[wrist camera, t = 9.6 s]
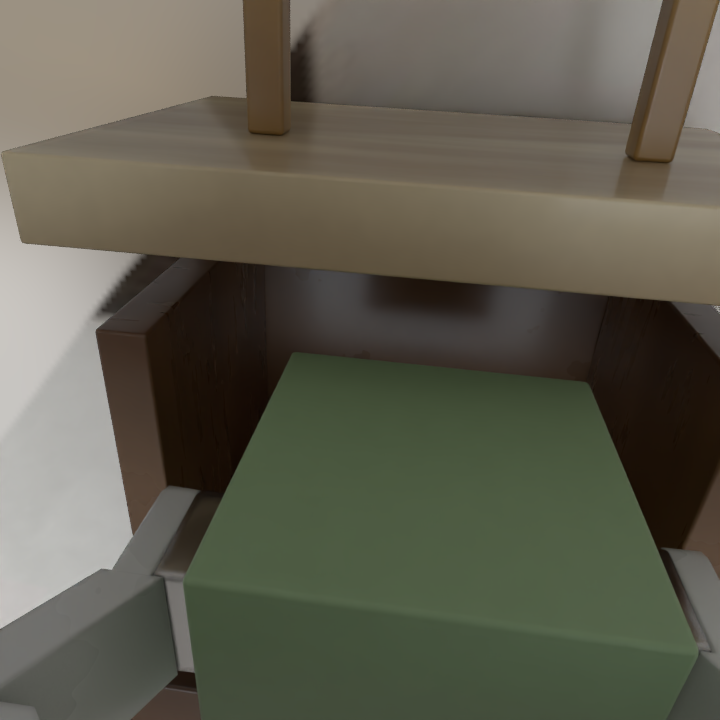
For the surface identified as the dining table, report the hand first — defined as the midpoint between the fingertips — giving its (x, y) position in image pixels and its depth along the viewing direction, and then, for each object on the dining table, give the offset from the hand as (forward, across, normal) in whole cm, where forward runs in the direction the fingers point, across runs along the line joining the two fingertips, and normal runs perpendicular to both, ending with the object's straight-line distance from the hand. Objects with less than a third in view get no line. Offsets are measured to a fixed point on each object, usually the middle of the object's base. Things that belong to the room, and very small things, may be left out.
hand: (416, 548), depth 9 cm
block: (+2, 0, 0) cm, 2 cm away
